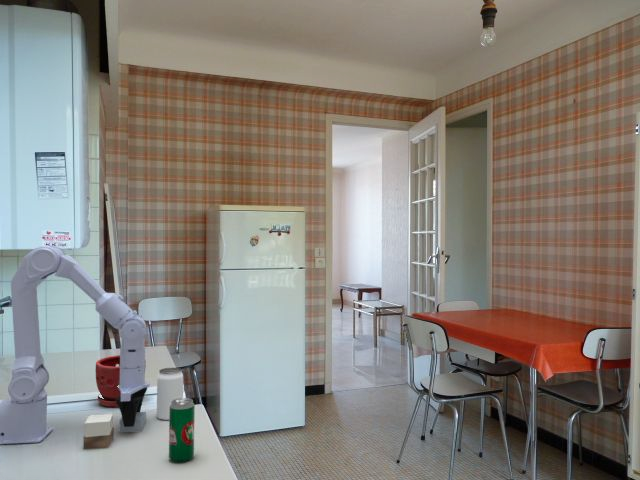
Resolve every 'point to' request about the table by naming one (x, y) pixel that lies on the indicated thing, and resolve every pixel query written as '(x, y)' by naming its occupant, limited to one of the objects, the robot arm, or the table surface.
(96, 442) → the walnut block
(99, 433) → the cream block
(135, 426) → the slate block
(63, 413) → the table surface
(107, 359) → the plant pot
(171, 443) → the soda can
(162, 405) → the can
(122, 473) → the table surface
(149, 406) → the table surface
